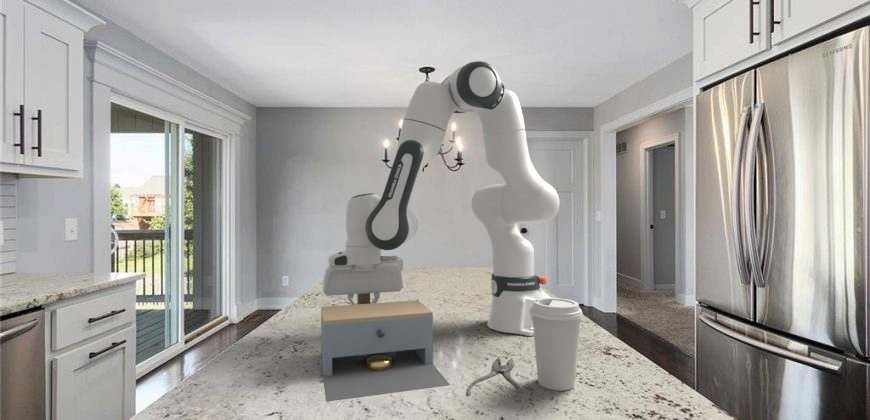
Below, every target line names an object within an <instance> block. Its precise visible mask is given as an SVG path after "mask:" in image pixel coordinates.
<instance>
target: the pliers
mask: <svg viewBox="0 0 870 420" xmlns="http://www.w3.org/2000/svg"><path fill="white" fill-rule="evenodd" d="M492 367H493V368H492V369H491V371H490V372H489V373H487V374H486V375H484V376H481V377H478V378H477V379H475V380H473V381H472V382H471V383H470V385H468V386H467V389H466V396H467V397H470V396H471V391H472V389H473V387H475V385H477V384H478V383H479V384H480V382H481V383H482V382H483V381H485V380H488V379H490V378H493V377H495V376H497V375H499V374H502V375H503V377H504V378H505V379H506V380H507V381H508V382H509V383H510V384H512V386H514V388H515V389H516V390H517V395H516V398H515V399H514V402H515V403H518V402H519V401H521V398H522V393H523V391H522V388H521V386H520V384H519V383H518V382H517V381H515V380H514V378H513V377H512V376H511V371H512V370H513V369H514V368H515V362H514V358H513V357H511V358H510V359H509V360H508V361H507V362H506V364H505V365H502V362H501V357H500V356H498V357H497V358H496V359H495V360H494V361H493V363H492Z"/></svg>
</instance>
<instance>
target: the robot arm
mask: <svg viewBox="0 0 870 420" xmlns="http://www.w3.org/2000/svg"><path fill="white" fill-rule="evenodd" d="M473 111H475V112H476V114H477V115H478V118H479V119H480V121H481V125H482V127H481V128H482V135H483V137H482V138H483V142H484V143H483V144H484V151H485V157H486V162H487V165H488V166H489V167H490V168H491V169H493V170H495V171H496V172H498V173H499V174H500V175H501V177H502V178H503V180H504V182H505V183H500V184H499V183H497V184H496V183H495V184H489V185H487V186H484V187H480V188H477V189H476V190H475V192H474V193H473V195H472V198H471V211H472V212H473V214H474V217H476V219H478V221H480V223H482V225H483V227H484V228H485V230H486V232H487V234H488V237H489V241H490V243H491V249H492V274H491V280H490V281H491V283H490V284H491V285H490V288H491V295H492V296H491V304H490V312H489V315H488V321H487V323H486V324H487V327H488V328H489V329H492V330H494V331H497V332H502V333H506V334H507V333H508V334H517V335H522V336H527V337H533V336H534V329H533V319H532V315H531V314H530V309H531V307H532V306H533V304H534V301H535V300H537V299H541V298H553V297H551V296H550V295H549V294H548V293H546V292H545V290H543V289H542V288H541V286H540V285H543V286H545V285H547V284H548V278H547V277H545V276H538V275H536V274H535V249H534V246H533V244H532V243H531V242H530V241H529V240H528V239H527V238H525V237H524V236H522V233H520V229H519V227H518V224H519V225H537V224H538V225H539V224H542V223H547V222H551V221H552V220H554V219H555V218H556V216H557V215H558V213H559V211H560V210H559V209H560V205H561V203H560V196H559V194H558V192H557V190H556V189H555V188H554V187H553V186H552V185H551V184H549V183H548V182H546V181H545V180H544V179H543V178H542V177H541V176H540V174H539V173H538V171H537V170H536V168H535V166H534V165H533V163H532V160H531V156H530V152H529V147H528V140H527V133H526V127H525V119H524V114H523V111H522V107H521V103H520V100H519V98H518V95H517V94H516V93H515V92H514V91H512V90H511V89H507V88H506V89H505V86H504V83H503V82H502V80H501V78H500V76H499V73H498V72H497V70H496V69H495V68H494V67H493V66H492V65H491V64H490V63H488V62H486V61H482V60H481V61H480V60H478V61H471V62H468V63H466V64H465V65H462V66H459V68H457V69H456V70H454V71H453V72H452V73H451V74H449V76H447V77H446V78H445V79H444V80H443V81H442V82H437V81H424V82H422V83H420V84H419V85H418V86H417V87H416V88H415V90H414V92H413V95H412V97H411V99H410V100H409V103H408V106H407V109H406V112H405V114H404V117H403V118H404V119H403V122H402V125H401V129H400V134H399V139H398V144H397V149H396V151H395V152H396V153H395V157H394V160H393V163H392V166H391V169H390V171H389V174H388V178H387V182H386V184H385V187H384V190H383V193H382V196H379V195H378V194H377V193H373V192H372V193H363V194H362V193H361V194H358V195H357V194H356V195H354V196H352V197H351V198H350V199H349V200H348V202H347V206H346V215H345V231H346V234H347V237H346V238H347V239H346V242H345V249H344V250H342V251H339V252H336V253H334V254H331V255H329V256H328V258H327V262H328V263H327V264H328V266H327V267H326V268H325V269H324V275H323V282H322V283H323V284H322V293H324V295H325V296H326V297H327V296H328V297H329V296H342V295H343V296H345V295H346V297H347V300H348V301H349V303H350V305H357V302H354V301H353V299H354V295H357V294H364V293H370V294H372V295H373V299H372V301H370V304H371V303H378V300H379V299H380V297H381V295H380V294H381V293H393V292H394V293H395V292H401V291H402V290H403V288H404V283H403V281H404V280H403V274H402V271H403V270H404V260H403V259H402V257H401V258H400V257H399V256H398V255H382V254H381V253H382V252H381V251H393V250H397V249H398V248H399V247H401V246H402V245H404V244H405V243H408V242H409V241H410V240H411V239H412V238H413V237H414V236H415V235H416V233H417V231H418V220H417V218H416V215H415V214H414V213H413V211H411V210H409V205H410V201H411V197H412V194H413V191H414V188H415V185H416V182H417V179H418V177H419V175H420V173H421V171H422V170H423V168H424V167H425V166H426V165H428V164H429V163H430V162H431V161H433V160H434V159H436V157H437V156H438V154H439V151H441V147H442V145H443V142H444V140H445V137H446V135H447V134H446V133H447V130H448V126H449V122H450V120H451V117H452V115H453V114H463V113H467V112H473Z"/></svg>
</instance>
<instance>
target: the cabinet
mask: <svg viewBox="0 0 870 420" xmlns="http://www.w3.org/2000/svg"><path fill="white" fill-rule="evenodd" d="M320 310H321V311H320V313H321V315H320V316H321V317H320V325H321V327H320V329H321V331H320V334H321V335H320V336H321V343H320V345H321V346H320V347H321V349H320V350H321V351H320V354H321V364H322V372H323V377H324V376H330V375H332V358H335V357H345V356H354V355H364V354H374V353H383V352H393V351H403V350H412V349H414V350H415V351H416V353H417V354H418V355H419V357H420V358H421V359H422V361H423V362H424V363H425V364H434V342H433V341H434V327H433V326H434V320H433V319H434V315H433V313H434V312H433V311H432V310H430V309H429V308H428V307H427V306H426V305H425V304H423V303H422V302H421V301H419V300H418V299H415V300H403V301H402V300H401V301H389V302H377V303H371V304H357V305H351V304H346V305H345V304H344V305H333V306H331V305H330V306H328V305H327V306H320Z"/></svg>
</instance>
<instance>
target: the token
mask: <svg viewBox="0 0 870 420" xmlns="http://www.w3.org/2000/svg"><path fill="white" fill-rule="evenodd" d="M390 368H391V357H390V356H388V355H373V356H370V357H368V358H367V369H368V370H371V371H384V370H388V369H390Z"/></svg>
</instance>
